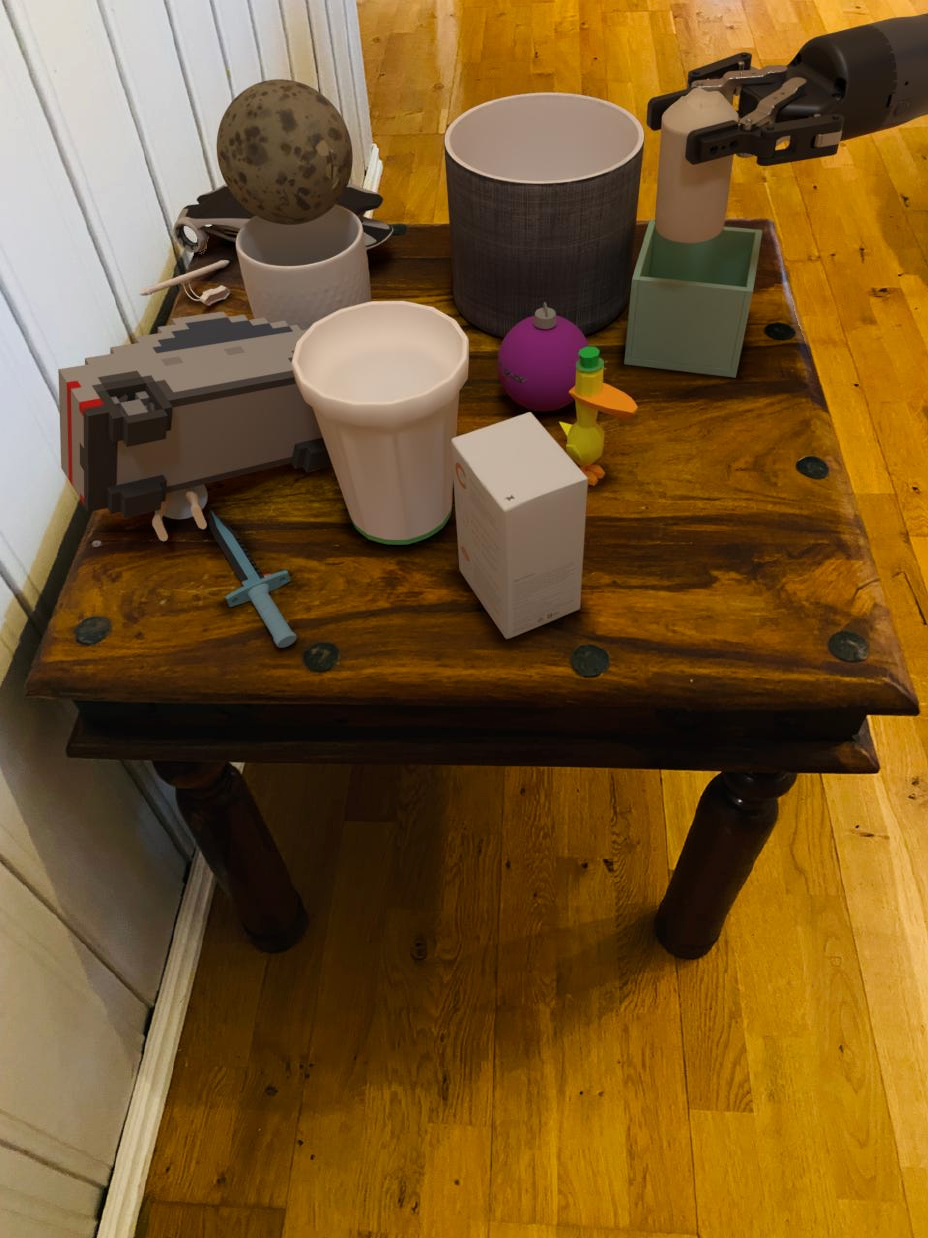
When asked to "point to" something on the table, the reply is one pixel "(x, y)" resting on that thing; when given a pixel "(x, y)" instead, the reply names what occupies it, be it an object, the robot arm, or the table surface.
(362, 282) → the mug
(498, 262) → the planter
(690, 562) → the table surface
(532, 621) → the small box
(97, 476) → the toy car
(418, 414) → the cup
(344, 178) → the decorative egg
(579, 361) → the toy figure
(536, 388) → the christmas ornament
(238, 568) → the knife
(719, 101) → the candle
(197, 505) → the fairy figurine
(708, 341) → the waste bin
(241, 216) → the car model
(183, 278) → the picture light
